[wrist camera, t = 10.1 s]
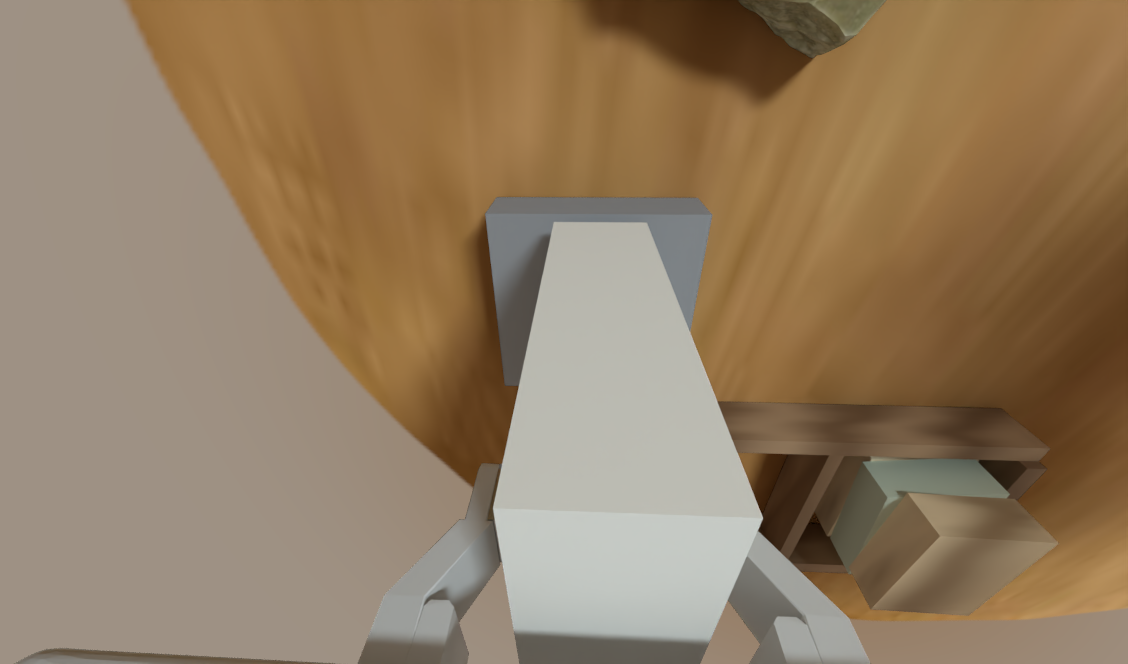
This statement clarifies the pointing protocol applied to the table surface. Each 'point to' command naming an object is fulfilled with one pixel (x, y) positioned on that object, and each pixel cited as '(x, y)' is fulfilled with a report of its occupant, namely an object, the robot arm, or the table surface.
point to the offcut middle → (902, 495)
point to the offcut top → (947, 553)
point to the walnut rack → (873, 431)
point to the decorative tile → (814, 21)
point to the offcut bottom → (843, 489)
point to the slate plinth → (528, 221)
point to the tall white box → (617, 466)
